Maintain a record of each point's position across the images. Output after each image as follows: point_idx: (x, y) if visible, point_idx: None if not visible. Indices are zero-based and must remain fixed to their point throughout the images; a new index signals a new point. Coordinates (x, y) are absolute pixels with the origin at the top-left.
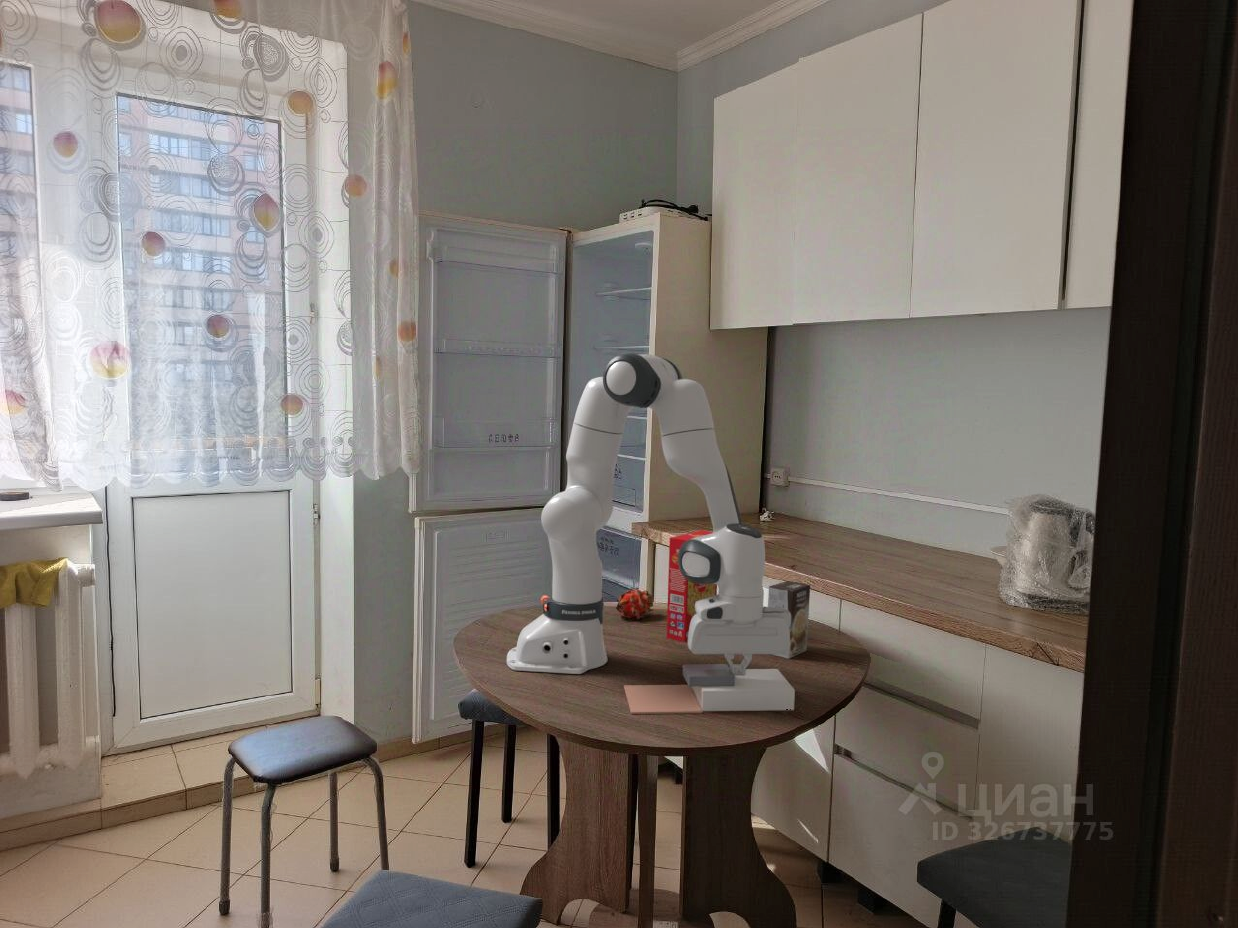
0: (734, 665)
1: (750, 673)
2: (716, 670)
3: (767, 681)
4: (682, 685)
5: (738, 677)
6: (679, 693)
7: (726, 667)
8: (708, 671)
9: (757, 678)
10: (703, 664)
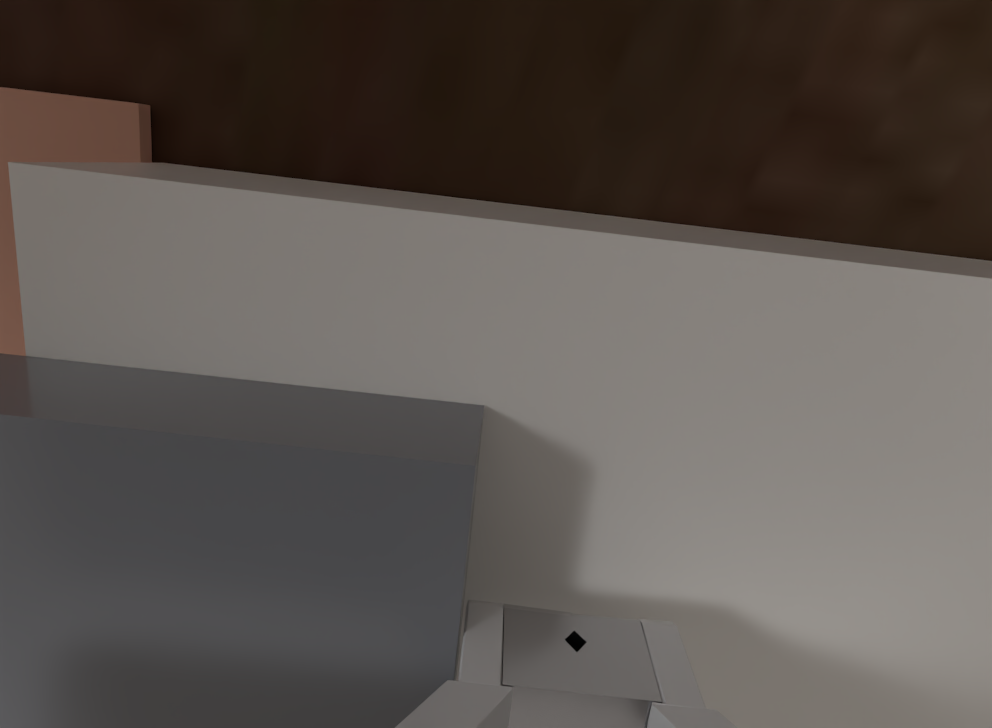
0: (523, 725)
1: (831, 448)
2: (225, 704)
3: (897, 719)
4: (57, 116)
5: (597, 558)
6: (6, 341)
7: (416, 618)
8: (97, 722)
9: (827, 623)
10: (61, 433)
